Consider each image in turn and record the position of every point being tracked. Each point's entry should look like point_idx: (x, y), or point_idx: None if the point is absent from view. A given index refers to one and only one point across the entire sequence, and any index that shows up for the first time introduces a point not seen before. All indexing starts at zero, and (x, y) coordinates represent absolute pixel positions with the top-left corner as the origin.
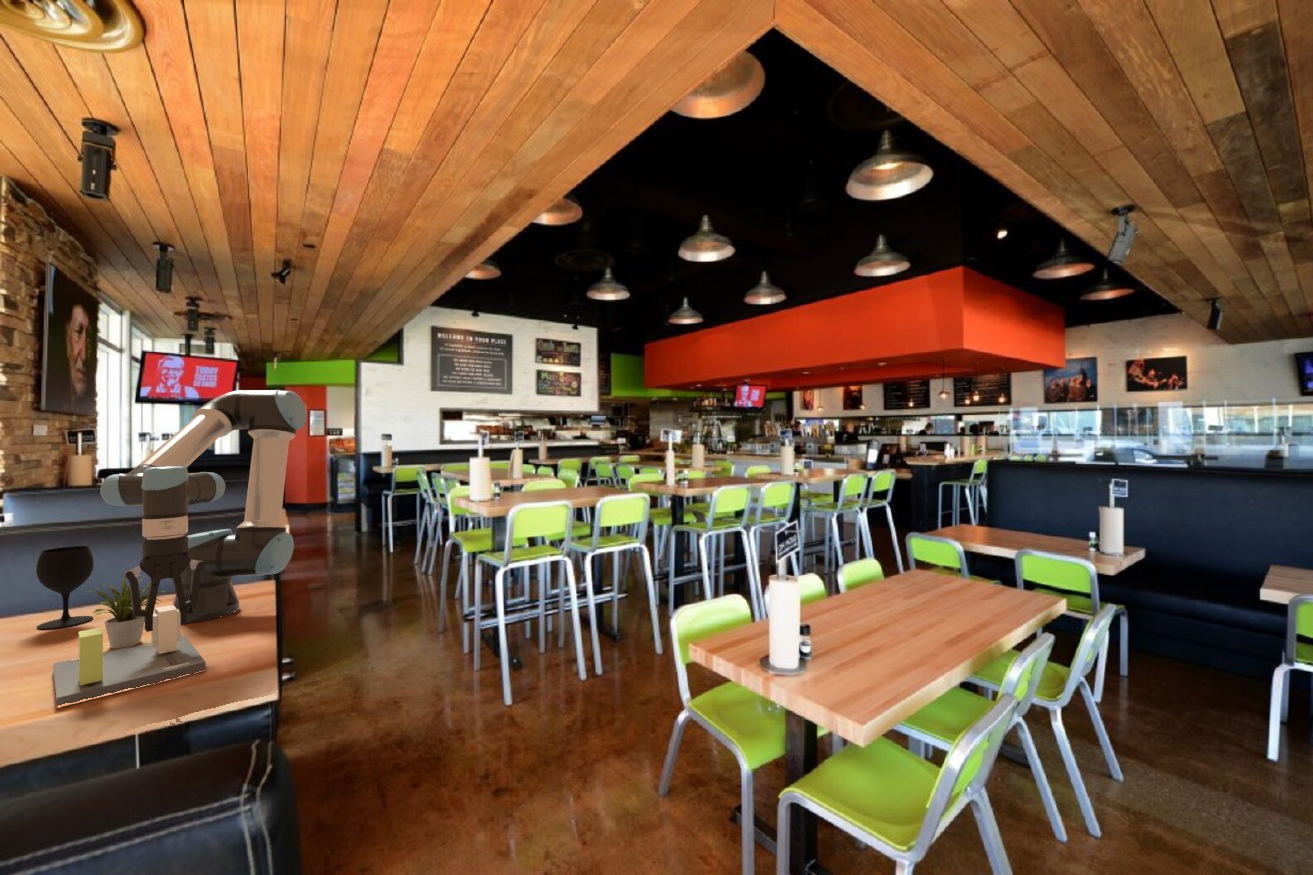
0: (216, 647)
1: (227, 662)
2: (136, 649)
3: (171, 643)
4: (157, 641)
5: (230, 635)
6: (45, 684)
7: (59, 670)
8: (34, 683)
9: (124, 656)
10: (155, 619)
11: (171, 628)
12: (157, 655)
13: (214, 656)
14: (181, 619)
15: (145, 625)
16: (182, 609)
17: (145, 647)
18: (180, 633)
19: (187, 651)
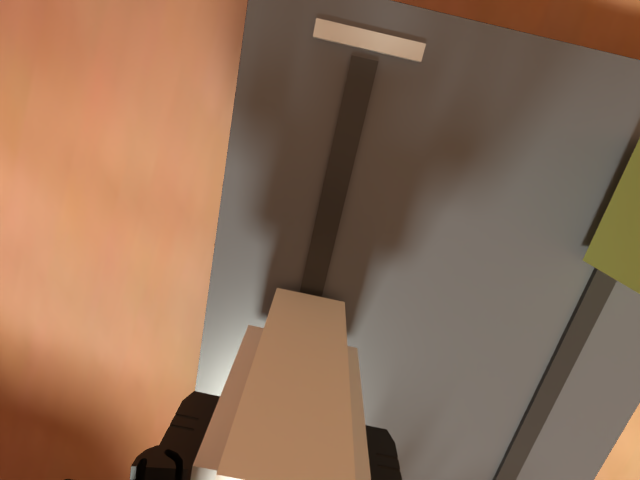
0: (128, 301)
1: (155, 25)
2: None
3: (294, 310)
4: None
5: (51, 400)
6: None
7: (591, 458)
8: (609, 463)
9: (411, 420)
10: (356, 474)
11: (283, 364)
12: None
13: (168, 184)
14: (204, 424)
15: (398, 469)
16: (174, 466)
17: None
18: (239, 348)
19: (247, 252)
